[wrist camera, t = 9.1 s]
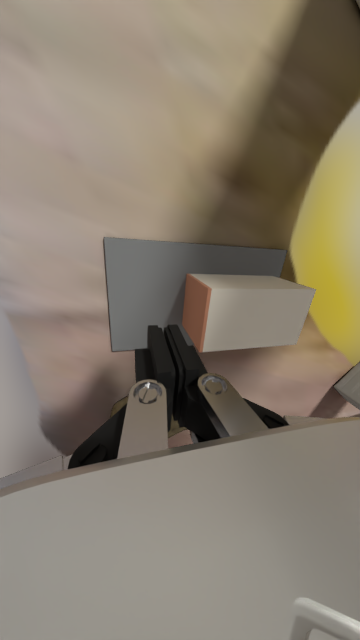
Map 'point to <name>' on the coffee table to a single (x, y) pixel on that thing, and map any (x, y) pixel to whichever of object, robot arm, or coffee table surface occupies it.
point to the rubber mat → (168, 281)
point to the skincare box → (350, 386)
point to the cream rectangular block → (243, 311)
